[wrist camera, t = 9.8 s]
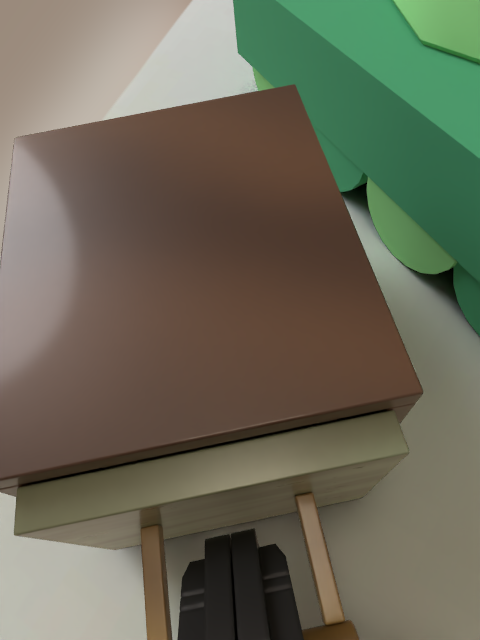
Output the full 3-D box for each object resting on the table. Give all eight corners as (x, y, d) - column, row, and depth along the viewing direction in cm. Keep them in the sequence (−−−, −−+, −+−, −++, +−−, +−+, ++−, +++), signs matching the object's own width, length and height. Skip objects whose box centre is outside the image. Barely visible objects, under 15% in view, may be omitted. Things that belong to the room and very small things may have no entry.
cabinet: (364, 469, 20) (425, 392, 11) (105, 523, 19) (-27, 486, 11) (291, 237, 26) (295, 82, 18) (98, 275, 26) (13, 136, 18)
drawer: (407, 642, 16) (501, 692, 9) (118, 704, 16) (-6, 805, 9) (290, 260, 25) (294, 140, 18) (104, 297, 24) (36, 190, 18)
